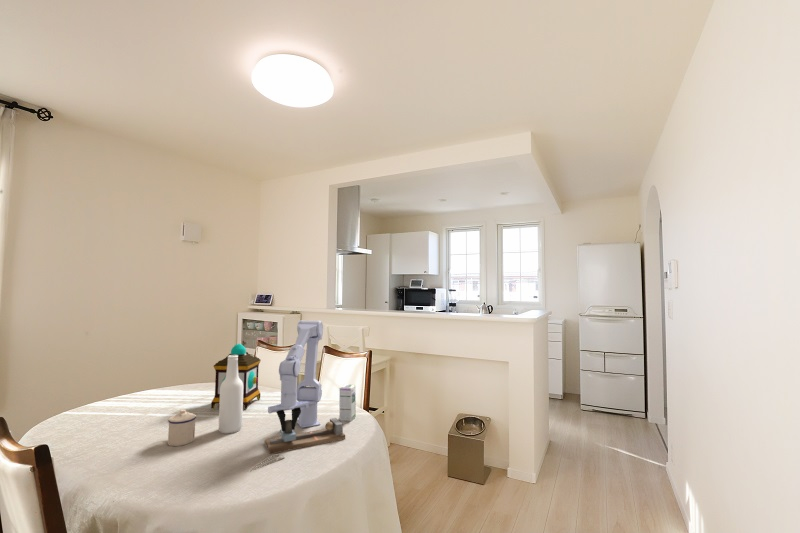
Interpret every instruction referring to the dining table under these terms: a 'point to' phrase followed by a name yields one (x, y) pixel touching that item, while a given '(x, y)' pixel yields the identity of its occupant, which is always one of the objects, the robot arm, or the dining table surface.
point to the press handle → (288, 431)
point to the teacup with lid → (181, 428)
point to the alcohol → (231, 399)
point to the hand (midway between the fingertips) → (288, 429)
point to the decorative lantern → (245, 373)
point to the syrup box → (347, 403)
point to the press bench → (308, 438)
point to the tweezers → (269, 461)
